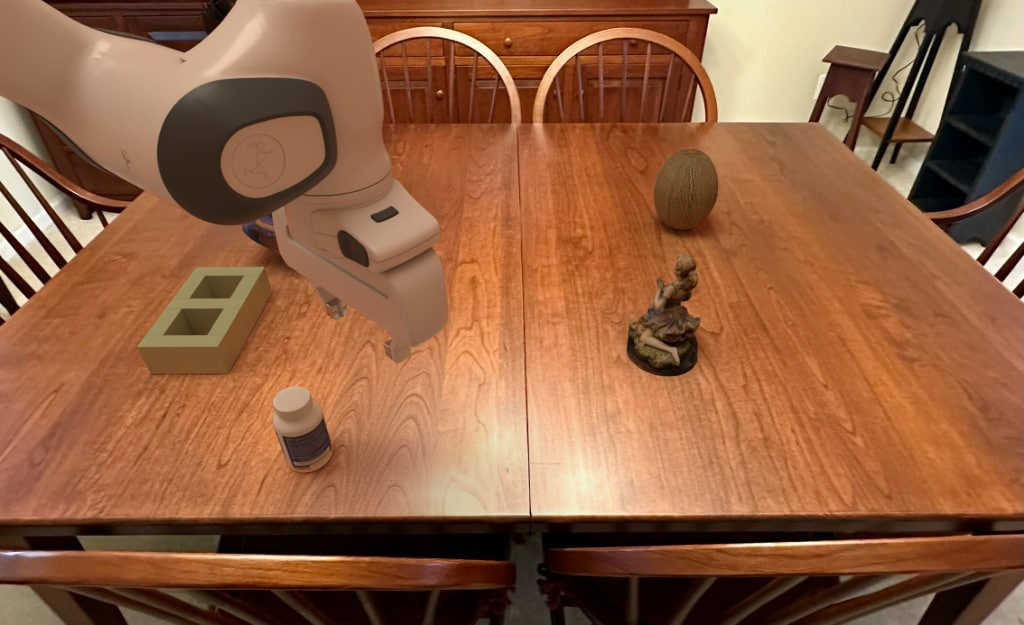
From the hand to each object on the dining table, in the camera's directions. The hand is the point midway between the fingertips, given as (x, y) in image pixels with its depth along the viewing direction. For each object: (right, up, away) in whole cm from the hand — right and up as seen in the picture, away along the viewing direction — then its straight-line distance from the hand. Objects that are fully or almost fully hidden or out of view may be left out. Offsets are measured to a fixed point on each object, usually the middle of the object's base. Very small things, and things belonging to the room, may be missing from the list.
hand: (366, 334), depth 57 cm
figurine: (+35, -3, +30) cm, 46 cm away
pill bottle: (-10, -15, +15) cm, 23 cm away
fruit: (+46, +19, +58) cm, 76 cm away
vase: (-47, +42, +88) cm, 108 cm away
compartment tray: (-31, 0, +33) cm, 45 cm away
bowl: (-22, +14, +52) cm, 58 cm away
